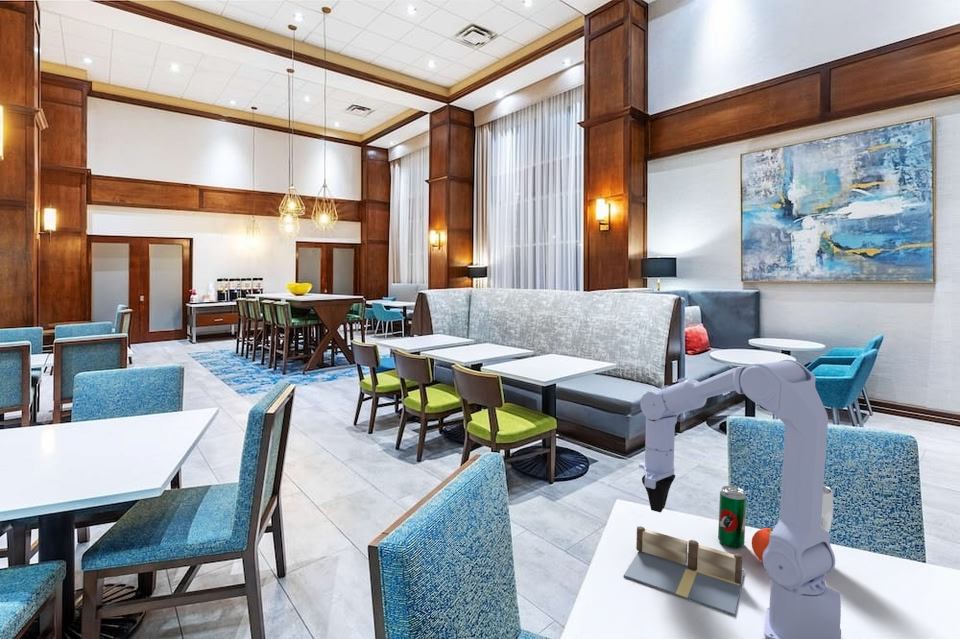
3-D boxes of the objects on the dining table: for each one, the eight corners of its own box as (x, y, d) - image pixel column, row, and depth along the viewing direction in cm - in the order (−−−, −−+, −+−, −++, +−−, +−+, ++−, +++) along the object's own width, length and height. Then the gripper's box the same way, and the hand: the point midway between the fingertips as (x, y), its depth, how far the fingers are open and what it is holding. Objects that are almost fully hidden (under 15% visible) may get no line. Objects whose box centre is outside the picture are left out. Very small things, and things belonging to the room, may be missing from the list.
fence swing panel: (687, 561, 95) (687, 539, 95) (685, 565, 94) (686, 543, 93) (637, 546, 101) (638, 525, 100) (635, 549, 99) (635, 528, 99)
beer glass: (795, 564, 95) (799, 492, 94) (784, 546, 102) (787, 478, 101) (836, 570, 93) (840, 497, 92) (822, 551, 100) (826, 482, 99)
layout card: (744, 571, 93) (744, 569, 93) (734, 616, 81) (734, 614, 80) (645, 541, 104) (645, 539, 104) (623, 577, 91) (623, 574, 91)
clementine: (804, 572, 93) (806, 537, 92) (779, 580, 90) (781, 544, 90) (766, 550, 100) (768, 518, 100) (742, 557, 98) (744, 524, 97)
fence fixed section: (741, 580, 90) (743, 554, 89) (740, 585, 88) (742, 559, 88) (688, 564, 95) (689, 539, 95) (686, 568, 93) (687, 543, 93)
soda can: (747, 551, 100) (750, 496, 99) (721, 548, 101) (724, 494, 100) (739, 538, 105) (741, 486, 104) (715, 536, 106) (717, 484, 105)
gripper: (649, 434, 108) (647, 491, 109) (630, 453, 96) (628, 517, 98) (682, 440, 104) (680, 499, 105) (666, 460, 93) (664, 527, 94)
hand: (657, 508), depth 101 cm, fingers closed
